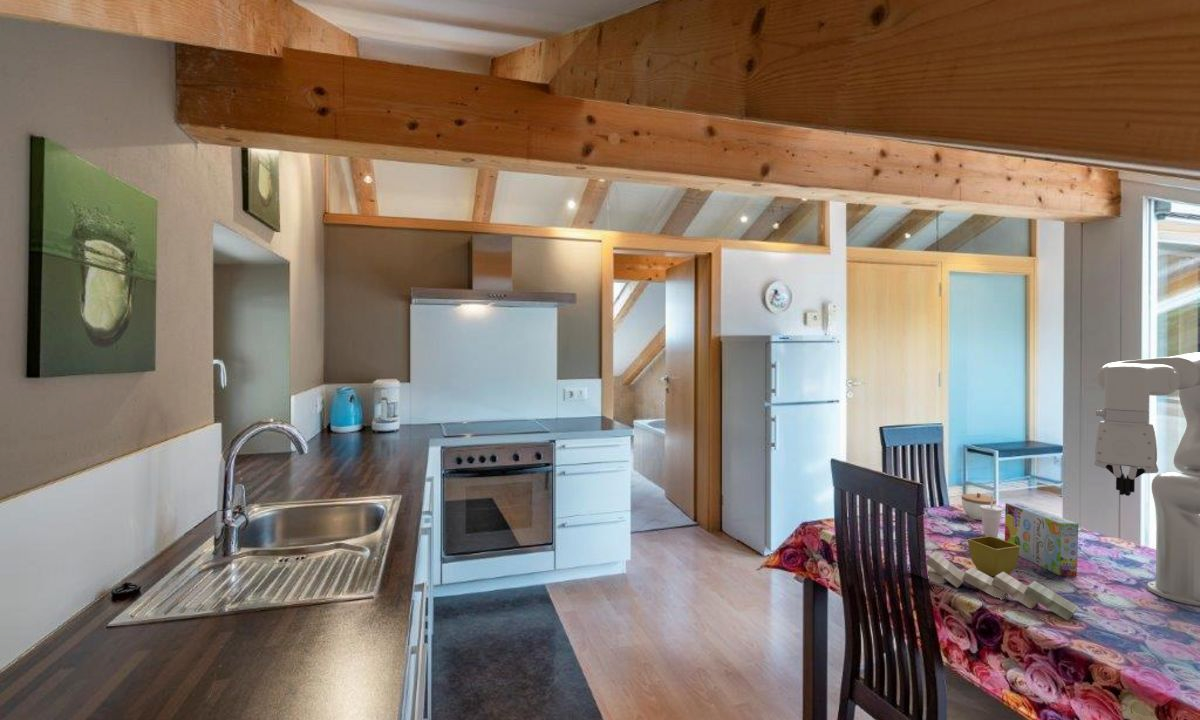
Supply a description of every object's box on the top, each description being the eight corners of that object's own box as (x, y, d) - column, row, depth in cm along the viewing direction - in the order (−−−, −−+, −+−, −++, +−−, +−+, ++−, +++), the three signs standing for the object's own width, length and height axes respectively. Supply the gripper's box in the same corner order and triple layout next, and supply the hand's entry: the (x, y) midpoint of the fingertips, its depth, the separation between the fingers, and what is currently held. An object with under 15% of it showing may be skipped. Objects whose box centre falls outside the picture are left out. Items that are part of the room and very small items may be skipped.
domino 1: (950, 572, 146) (915, 562, 153) (943, 577, 143) (907, 566, 150) (950, 581, 146) (915, 570, 153) (943, 586, 143) (907, 575, 150)
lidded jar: (1001, 519, 198) (1001, 494, 198) (987, 524, 193) (987, 498, 193) (970, 511, 208) (970, 488, 207) (955, 516, 202) (955, 491, 202)
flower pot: (996, 581, 144) (996, 549, 144) (966, 569, 153) (966, 538, 152) (1020, 578, 147) (1020, 546, 146) (989, 566, 155) (990, 535, 155)
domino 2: (967, 575, 143) (935, 550, 148) (962, 582, 139) (929, 556, 145) (962, 581, 144) (930, 556, 149) (957, 588, 140) (924, 562, 146)
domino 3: (1011, 587, 136) (972, 567, 143) (1004, 592, 133) (965, 571, 140) (1008, 595, 136) (969, 574, 143) (1001, 600, 133) (962, 579, 140)
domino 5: (1078, 606, 125) (1034, 580, 132) (1073, 612, 122) (1028, 586, 129) (1073, 614, 126) (1030, 588, 133) (1068, 620, 123) (1023, 593, 130)
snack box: (1079, 577, 147) (1080, 523, 147) (1059, 576, 148) (1059, 523, 147) (1020, 548, 169) (1021, 501, 168) (1002, 548, 169) (1003, 501, 169)
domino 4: (1043, 596, 131) (1003, 571, 137) (1036, 601, 128) (995, 575, 135) (1038, 604, 131) (998, 578, 138) (1031, 609, 128) (991, 583, 135)
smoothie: (983, 537, 178) (983, 496, 178) (976, 531, 185) (976, 491, 184) (1005, 539, 177) (1006, 498, 176) (997, 533, 183) (998, 493, 183)
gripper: (1080, 415, 128) (1079, 490, 128) (1171, 421, 117) (1169, 504, 117) (1086, 413, 133) (1085, 485, 133) (1174, 419, 121) (1173, 498, 122)
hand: (1125, 494), depth 125 cm, fingers closed
